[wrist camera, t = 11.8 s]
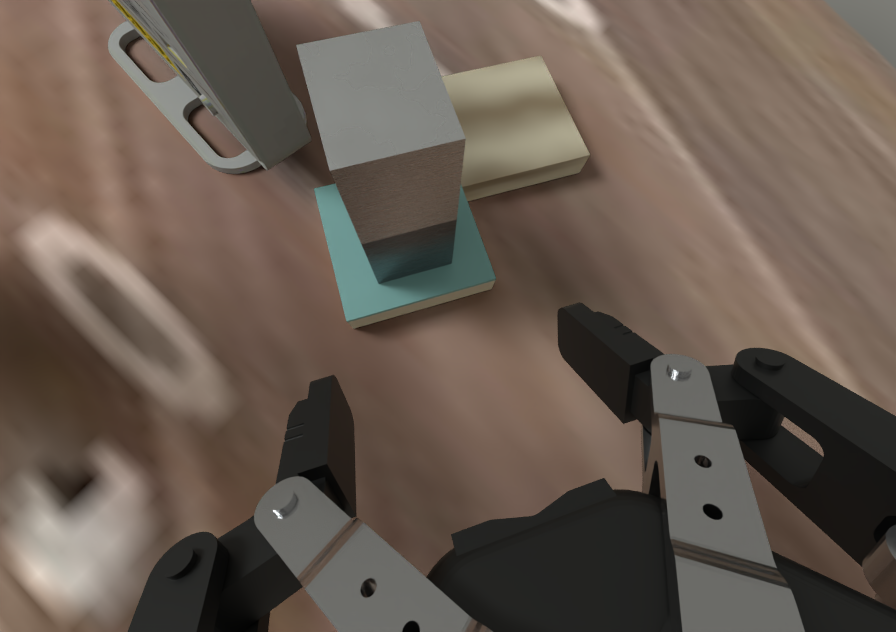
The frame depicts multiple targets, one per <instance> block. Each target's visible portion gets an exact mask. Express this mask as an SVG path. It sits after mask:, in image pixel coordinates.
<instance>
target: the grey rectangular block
mask: <svg viewBox="0 0 896 632" xmlns="http://www.w3.org/2000/svg"><path fill="white" fill-rule="evenodd" d="M296 47H297V50H298V54H299V58H300V61H301V65H302V69H303V73H304V76H305V80H306V84H307V88H308V91H309V95H310V99H311V103H312V106H313V110H314V114H315V118H316V121H317V125H318V129H319V132H320V136H321V140H322V144H323V147H324V151H325V155H326V159H327V162H328V166H329V170H330V173H331V175H332V177H333V179H334V182H335V184H336V186H337V189H338V191H339V193H340V196H341V198H342V200H343V203H344V205H345V207H346V210H347V212H348V214H349V217H350V219H351V221H352V224H353V226H354V228H355V231H356V233H357V235H358V238H359V240H360V242H361V245H362V247H363V249H364V252H365V254H366V256H367V258H368V261H369V263H370V265H371V268H372V270H373V272H374V275H375V277H376V279H377V282H378V284H381V283H384V282H388V281H391V280H395V279H399V278H402V277H406V276H409V275H413V274H416V273H420V272H424V271H427V270H431V269H434V268H438V267H442V266H445V265H449V264H452V259H453V250H454V241H455V232H456V223H457V214H458V205H459V195H460V186H461V177H462V168H463V159H464V150H465V141H466V138H465V135H464V133H463V130H462V128H461V125H460V123H459V120H458V117H457V115H456V112H455V110H454V107H453V105H452V102H451V100H450V97H449V95H448V92H447V90H446V87H445V85H444V82H443V80H442V77H441V75H440V72H439V69H438V67H437V64H436V62H435V59H434V57H433V54H432V52H431V49H430V47H429V44H428V42H427V39H426V37H425V34H424V32H423V29H422V27H421V24H420V21H417V22H412V23H407V24H402V25H397V26H391V27H386V28H381V29H376V30H371V31H366V32H360V33H355V34H350V35H345V36H340V37H335V38H330V39H324V40H319V41H314V42H309V43H304V44H299V45H296Z"/></svg>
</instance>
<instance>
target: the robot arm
mask: <svg viewBox="0 0 896 632" xmlns="http://www.w3.org/2000/svg"><path fill="white" fill-rule="evenodd" d="M558 346H559V350H560V353H561V355H562V357H563V358H564V360H565V361H566V362H567V363H568V364H569V365H570V366H571V367H572V368H573V370H574V371H575V372H576V373H577V374H578V375H579V376H580V377H581V378H582V379H583V380H584V381H585V383H586V384H587V385H588V386H589V387H590V388H591V389H592V390H593V391H594V392H595V393H596V394H597V396H598V397H599V398H600V399H601V400H602V401H603V402H604V403H605V404H606V405H607V406H608V408H609V409H610V410H611V411H612V412H613V413H614V414H615V415H616V416H617V417H618V418H619V419H620V421H621V422H622V423H623V424H625V423H628V422H630V421H633V420H636V419H637V420H638V421H639V422H640V423H641V424H642V425H641V452H642V481H643V482H642V492H638V491H631V490H612V488H611V487H610V485H609V484H608V483H607V481H606V480H605V479H604V478H603V479H600V480H597V481H594V482H592V483H589V484H586V485H584V486H581V487H578V488H575V489H573V490H570V491H568V492H566V493H565V494H564V495H562V496H561V497H560V498H558V499H557V500H556V501H554V502H553V503H552V504H550V505H549V506H548V507H546V508H545V509H544V510H542V511H541V512H540V513H538V514H537V515H534V516H529V517H518V518H507V519H495V520H489V521H486V522H483V523H481V524H478V525H475V526H473V527H470V528H467V529H464V530H462V531H459V532H456V533H454V534H451V536H452V540H453V544H454V548H453V549H452V550H450V551H449V552H448V553H446V554H445V555H444V556H443V557H442V558H441V559H440V560H439V561H438V562H437V564H436V565H435V566H434V567H433V568H432V570H431V571H430V573H429V574H428V576H427V577H425V576H424V575H423V574H421V573H420V572H419V571H418V570H417V569H416V568H415V567H414V566H412V565H411V564H410V563H409V562H408V561H407V560H406V559H405V558H403V557H402V556H401V555H400V554H399V553H398V552H397V551H395V550H394V549H393V548H392V547H391V546H390V545H389V544H388V543H386V542H385V541H384V540H383V539H382V538H381V537H380V536H379V535H377V534H376V533H375V532H374V531H373V530H372V529H371V528H369V527H368V526H367V525H366V524H365V523H364V522H362V521H361V520H360V519H358V518H356V519H355V520H353V519H351V518H353V517H356V482H355V443H354V421H353V416H352V413H351V410H350V407H349V405H348V403H347V400H346V398H345V396H344V394H343V391H342V389H341V387H340V385H339V382H338V380H337V378H336V377H335V376H334V375H332V376H328V377H325V378H322V379H318V380H315V381H312V382H310V387H309V394H308V399H305V400H302V401H299V402H297V404H296V406H295V407H294V409H293V410H292V412H291V413H290V415H289V419H288V424H287V431H286V434H285V439H284V440H285V442H284V444H283V449H282V454H281V460H280V465H279V470H278V475H277V480H276V485H274V486H273V487H272V488H270V489H269V490H268V491H267V492H266V493H265V495H264V496H263V497H262V498H261V500H260V501H259V503H258V505H257V507H256V510H255V514H254V516H252V517H251V518H250V519H248V520H247V521H245V522H244V523H242V524H241V525H239V526H237V527H236V528H234V529H233V530H231V531H229V532H228V533H226V534H225V535H223V536H221V537H220V538H218V539H217V538H216V537H215V536H214V535H213V534H211V533H209V532H199V533H195V534H192V535H190V536H188V537H186V538H184V539H182V540H181V541H179V542H178V543H176V544H175V545H174V546H173V547H172V548H170V549H169V550H168V551H167V552H166V553H165V554H164V555H163V556H162V558H161V559H160V560H159V561H158V562H157V564H156V565H155V567H154V568H153V570H152V572H151V573H150V576H149V578H148V580H147V583H146V585H145V588H144V591H143V593H142V596H141V598H140V601H139V604H138V606H137V609H136V611H135V614H134V617H133V619H132V622H131V624H130V627H129V630H128V632H268V626H269V617H270V611H271V610H272V609H273V608H275V607H276V606H278V605H279V604H280V603H282V602H283V601H284V600H286V599H287V598H288V597H290V596H291V595H292V594H294V593H295V592H296V591H298V590H299V589H300V588H302V587H304V589H305V590H306V591H307V593H308V594H309V595H310V596H311V598H312V599H313V600H314V601H315V603H316V604H317V605H318V607H319V608H320V609H321V610H322V612H323V613H324V614H325V615H326V617H327V618H328V619H329V621H330V622H331V623H332V624H333V626H334V627H335V628H336V629H337V631H338V632H896V416H894V415H893V414H891V413H889V412H887V411H886V410H884V409H882V408H880V407H879V406H877V405H875V404H873V403H872V402H870V401H868V400H866V399H864V398H863V397H861V396H859V395H857V394H856V393H854V392H852V391H850V390H849V389H847V388H845V387H843V386H842V385H840V384H838V383H836V382H835V381H833V380H831V379H829V378H828V377H826V376H824V375H822V374H821V373H819V372H817V371H815V370H813V369H812V368H810V367H808V366H806V365H805V364H803V363H801V362H799V361H798V360H796V359H794V358H792V357H790V356H789V355H786V354H784V353H782V352H778V351H775V350H771V349H765V348H748V349H744V350H742V351H740V352H739V353H738V354H737V355H736V358H735V361H734V365H720V366H704V365H703V364H702V363H700V362H699V361H697V360H695V359H693V358H691V357H687V356H684V355H678V354H666V355H665V354H663V353H662V352H660V351H659V350H658V349H656V348H655V347H654V346H652V345H651V344H649V343H648V342H647V341H645V340H644V339H643V338H641V337H640V336H638V335H637V334H636V333H633V332H632V330H630V329H629V328H627V327H626V326H623V324H622V323H621V322H619V321H618V320H616V319H615V318H614V317H612V316H609V315H607V314H604V313H601V312H593V311H592V310H590V309H589V308H588V307H586V306H585V305H584V304H582V303H576V304H573V305H569V306H566V307H563V308H560V309H559V310H558ZM784 417H786V418H787V419H789V420H790V421H791V422H793V423H794V424H795V425H797V426H798V427H800V428H801V429H802V430H804V431H805V432H807V433H808V434H809V435H811V436H812V437H813V438H814V439H816V440H817V442H818V443H819V444H820V445H821V447H822V449H823V452H824V457H823V456H821V455H820V454H819V453H817V452H816V451H815V450H813V449H812V448H811V447H809V446H808V445H807V444H805V443H804V442H803V441H801V440H800V439H799V438H797V437H796V436H795V435H793V434H792V433H791V432H789V431H788V430H787V429H785V428H784V427H783V426H781V423H782V421H783V419H784ZM744 459H745V460H746V461H747V462H748V463H749V464H750V465H751V466H752V467H753V468H754V469H756V470H757V471H758V472H759V473H760V474H761V475H762V476H763V477H764V478H765V479H767V480H768V481H769V482H770V483H771V484H772V485H773V486H774V487H775V488H776V489H777V490H779V491H780V492H781V493H782V494H783V495H784V496H785V497H786V498H787V499H788V500H789V501H791V502H792V503H793V504H794V505H795V506H796V507H797V508H798V509H799V510H800V511H802V512H803V513H804V514H805V515H806V516H807V517H808V518H809V519H810V520H811V521H812V522H814V523H815V524H816V525H817V526H818V527H819V528H820V529H821V530H822V531H823V532H824V533H826V534H827V535H828V536H829V537H830V538H831V539H832V540H833V541H834V542H835V543H837V544H838V545H839V546H840V547H841V548H842V549H843V550H844V551H845V552H846V553H847V554H849V555H850V556H851V557H852V558H853V559H854V560H855V561H856V562H857V563H858V564H859V565H861V566H862V568H863V572H864V575H865V577H866V579H867V581H868V583H869V584H870V586H871V587H872V588H873V590H874V591H875V592H876V594H875V600H874V599H872V598H870V597H868V596H866V595H864V594H862V593H860V592H858V591H855V590H853V589H851V588H849V587H847V586H845V585H843V584H841V583H839V582H836V581H834V580H832V579H830V578H828V577H826V576H824V575H822V574H820V573H817V572H815V571H813V570H811V569H809V568H807V567H805V566H803V565H801V564H798V563H796V562H794V561H792V560H790V559H788V558H786V557H784V556H782V555H779V554H777V553H775V552H773V551H771V549H770V545H769V542H768V538H767V535H766V532H765V528H764V525H763V521H762V518H761V515H760V511H759V508H758V505H757V501H756V498H755V494H754V491H753V488H752V484H751V481H750V478H749V474H748V471H747V467H746V464H745V461H744Z"/></svg>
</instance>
